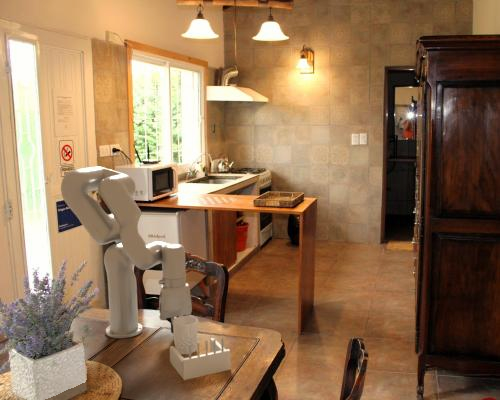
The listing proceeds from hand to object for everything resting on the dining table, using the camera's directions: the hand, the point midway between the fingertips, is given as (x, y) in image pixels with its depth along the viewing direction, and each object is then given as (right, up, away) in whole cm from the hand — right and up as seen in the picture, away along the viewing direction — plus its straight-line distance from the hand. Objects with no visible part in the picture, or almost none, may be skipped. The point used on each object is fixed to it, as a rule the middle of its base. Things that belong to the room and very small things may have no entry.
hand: (176, 334), depth 182 cm
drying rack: (+10, -5, -19) cm, 22 cm away
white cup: (+4, -3, -8) cm, 10 cm away
